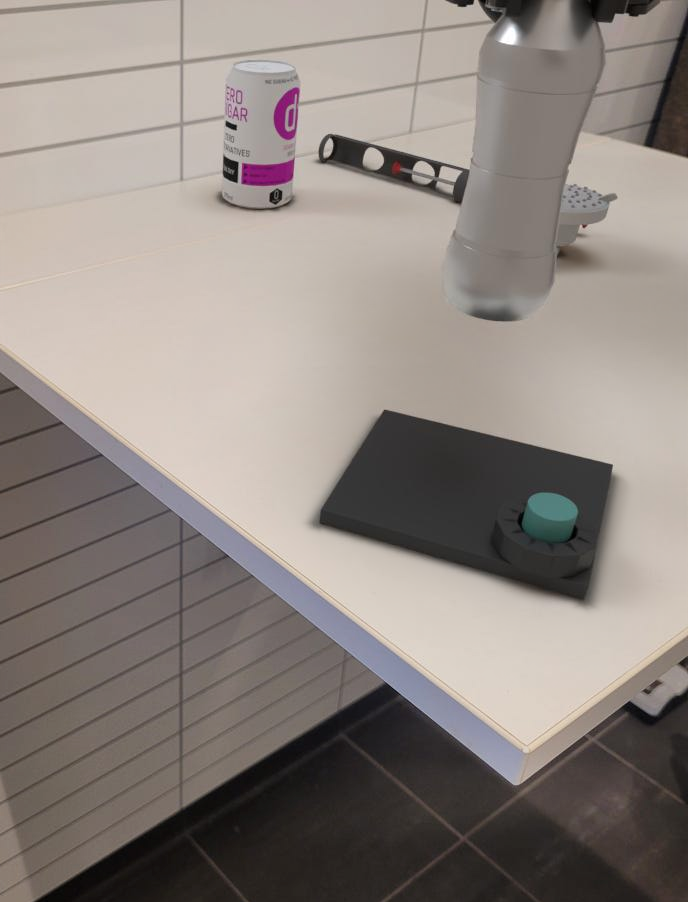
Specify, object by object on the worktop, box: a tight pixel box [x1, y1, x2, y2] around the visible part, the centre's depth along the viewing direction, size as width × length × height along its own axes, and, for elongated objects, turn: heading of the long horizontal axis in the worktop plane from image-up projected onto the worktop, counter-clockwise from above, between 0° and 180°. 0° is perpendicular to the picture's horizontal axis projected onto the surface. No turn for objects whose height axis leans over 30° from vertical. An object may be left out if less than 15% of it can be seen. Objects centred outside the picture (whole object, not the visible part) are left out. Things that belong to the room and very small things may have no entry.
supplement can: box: [221, 59, 301, 210], centre depth 107 cm, size 8×8×15 cm
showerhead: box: [555, 183, 619, 256], centre depth 97 cm, size 9×7×10 cm
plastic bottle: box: [441, 0, 607, 323], centre depth 53 cm, size 6×7×20 cm
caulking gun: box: [318, 133, 589, 229], centre depth 115 cm, size 4×37×10 cm
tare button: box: [522, 493, 578, 543], centre depth 55 cm, size 3×3×2 cm
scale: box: [318, 408, 614, 601], centre depth 61 cm, size 16×14×3 cm
